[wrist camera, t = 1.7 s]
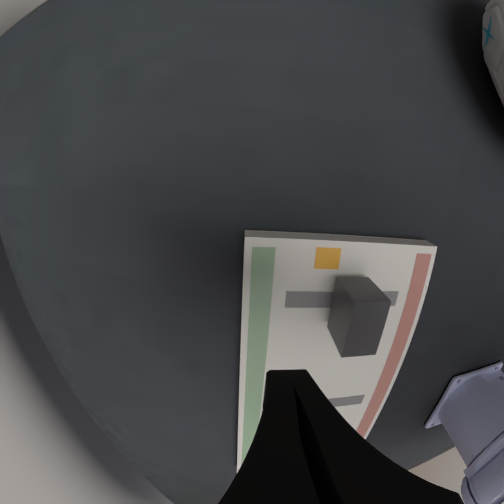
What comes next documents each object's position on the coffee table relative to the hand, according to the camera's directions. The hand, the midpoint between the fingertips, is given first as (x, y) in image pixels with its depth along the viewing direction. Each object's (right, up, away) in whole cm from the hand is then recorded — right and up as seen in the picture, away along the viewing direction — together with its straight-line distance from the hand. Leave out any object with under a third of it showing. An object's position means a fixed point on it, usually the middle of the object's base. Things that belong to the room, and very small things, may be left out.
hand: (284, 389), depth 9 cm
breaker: (+4, +2, +7) cm, 8 cm away
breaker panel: (+4, -6, +11) cm, 13 cm away
